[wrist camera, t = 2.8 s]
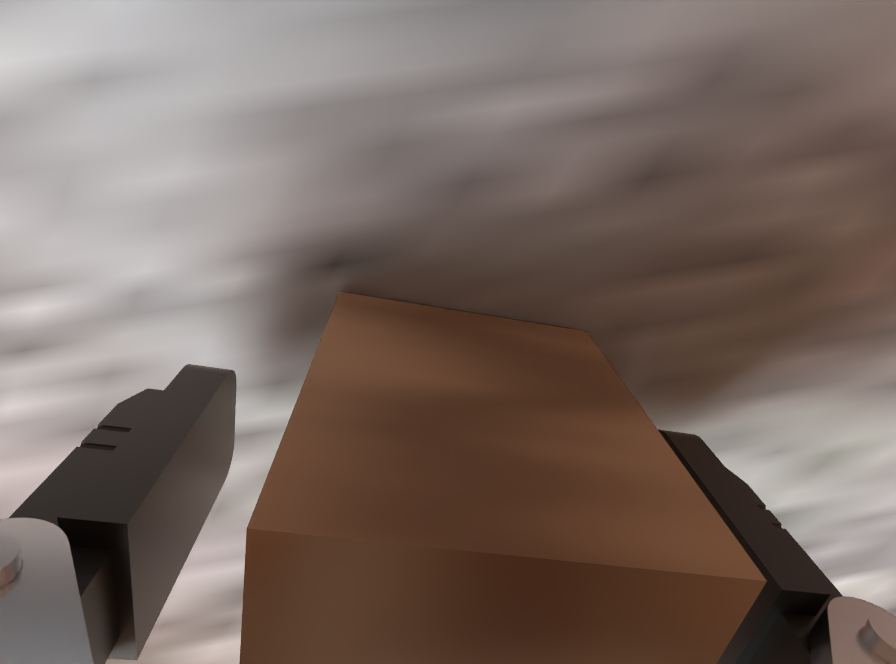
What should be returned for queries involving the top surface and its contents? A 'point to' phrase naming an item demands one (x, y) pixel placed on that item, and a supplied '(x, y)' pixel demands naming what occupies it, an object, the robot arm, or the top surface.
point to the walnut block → (480, 507)
